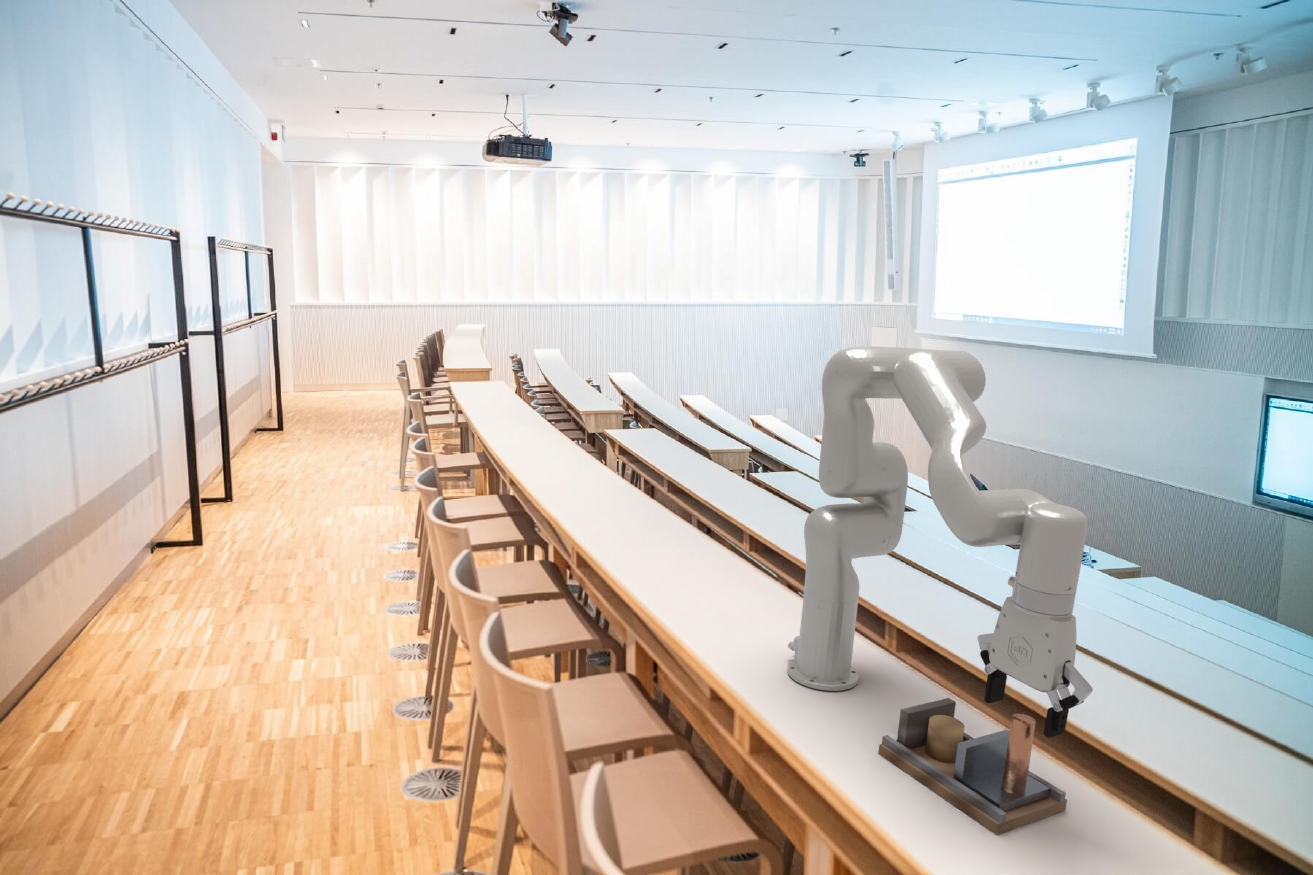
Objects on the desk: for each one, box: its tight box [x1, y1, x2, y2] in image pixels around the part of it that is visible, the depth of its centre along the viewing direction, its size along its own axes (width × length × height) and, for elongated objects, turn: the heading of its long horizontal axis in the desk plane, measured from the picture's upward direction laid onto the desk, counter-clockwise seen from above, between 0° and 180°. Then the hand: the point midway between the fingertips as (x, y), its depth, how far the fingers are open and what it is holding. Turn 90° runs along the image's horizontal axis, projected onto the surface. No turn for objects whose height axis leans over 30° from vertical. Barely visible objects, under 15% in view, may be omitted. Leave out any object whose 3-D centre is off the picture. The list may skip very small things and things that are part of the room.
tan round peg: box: [925, 715, 965, 763], centre depth 135 cm, size 5×5×5 cm
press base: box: [877, 697, 1068, 836], centre depth 131 cm, size 22×14×8 cm, turn 30°
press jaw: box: [953, 713, 1050, 811], centre depth 126 cm, size 8×10×12 cm
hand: (1022, 717), depth 123 cm, fingers open, 9 cm apart
